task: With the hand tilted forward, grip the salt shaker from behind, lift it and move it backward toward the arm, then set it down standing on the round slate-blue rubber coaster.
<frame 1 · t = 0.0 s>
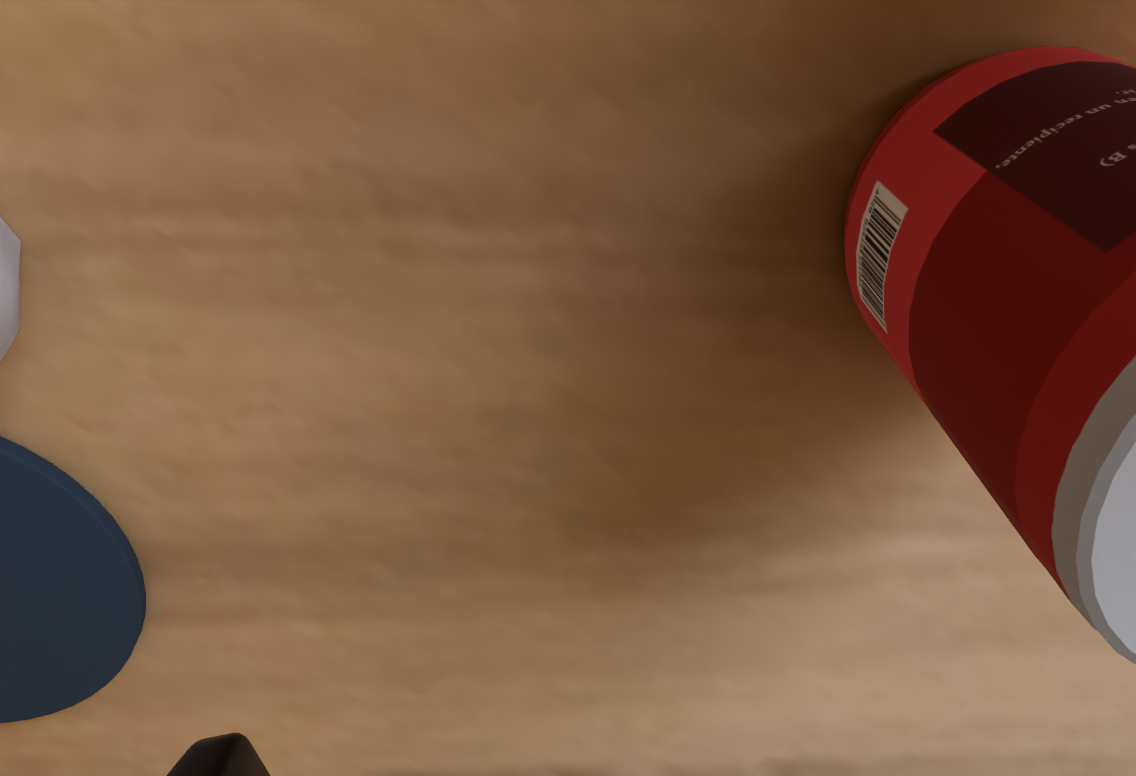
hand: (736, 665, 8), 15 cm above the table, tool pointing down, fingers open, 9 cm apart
canned food: (988, 208, 22), on the table
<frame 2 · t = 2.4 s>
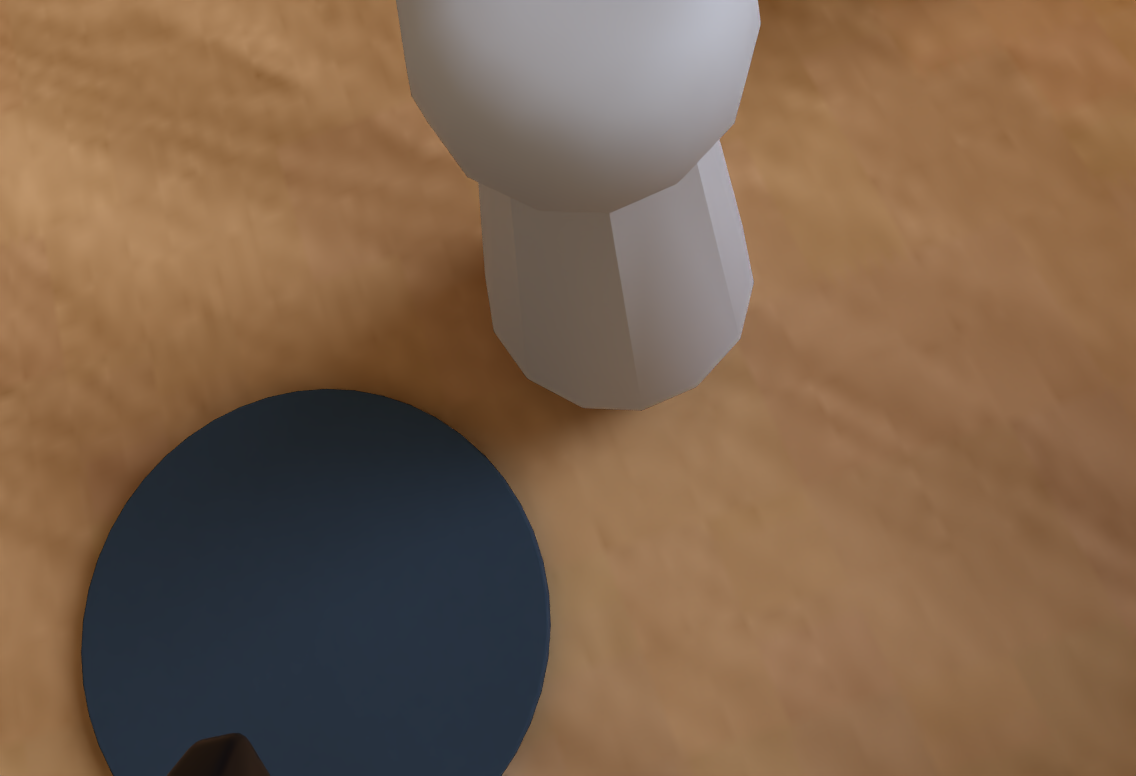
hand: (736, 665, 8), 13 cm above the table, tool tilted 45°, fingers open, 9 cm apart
coaster: (317, 622, 22), on the table
salt shaker: (622, 315, 23), on the table
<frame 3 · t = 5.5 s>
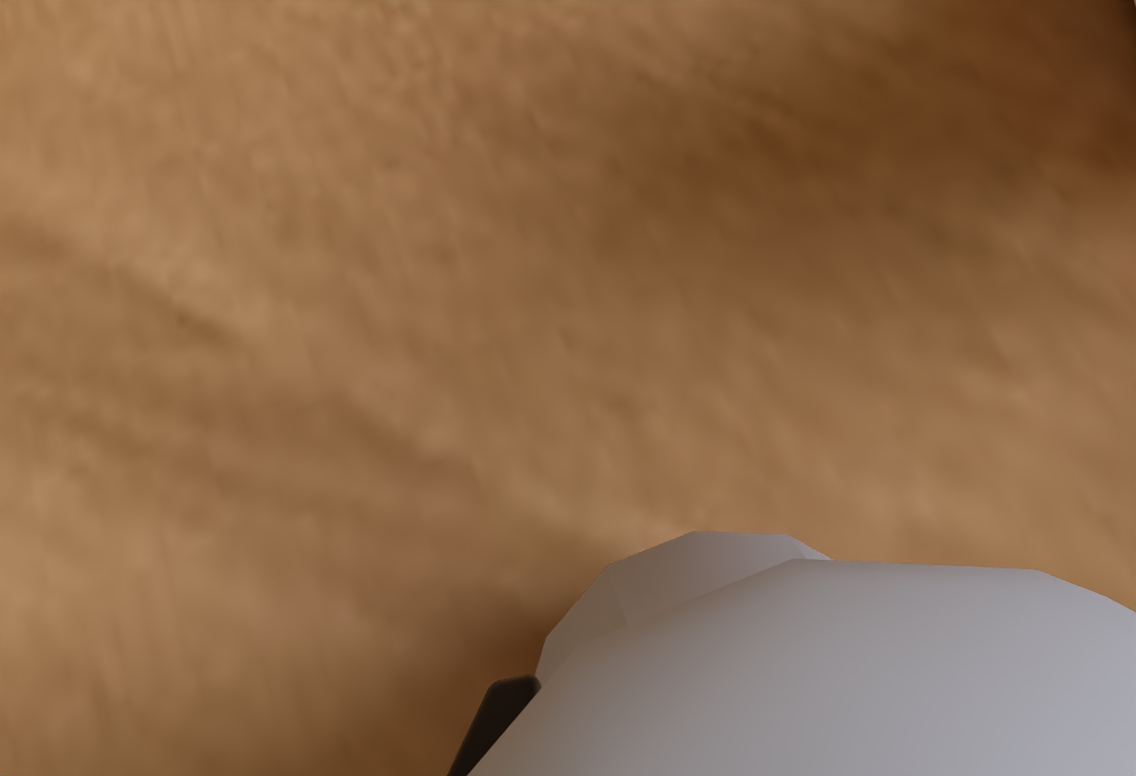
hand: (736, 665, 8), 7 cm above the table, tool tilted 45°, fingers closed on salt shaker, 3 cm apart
salt shaker: (722, 723, 15), on the table, touching gripper
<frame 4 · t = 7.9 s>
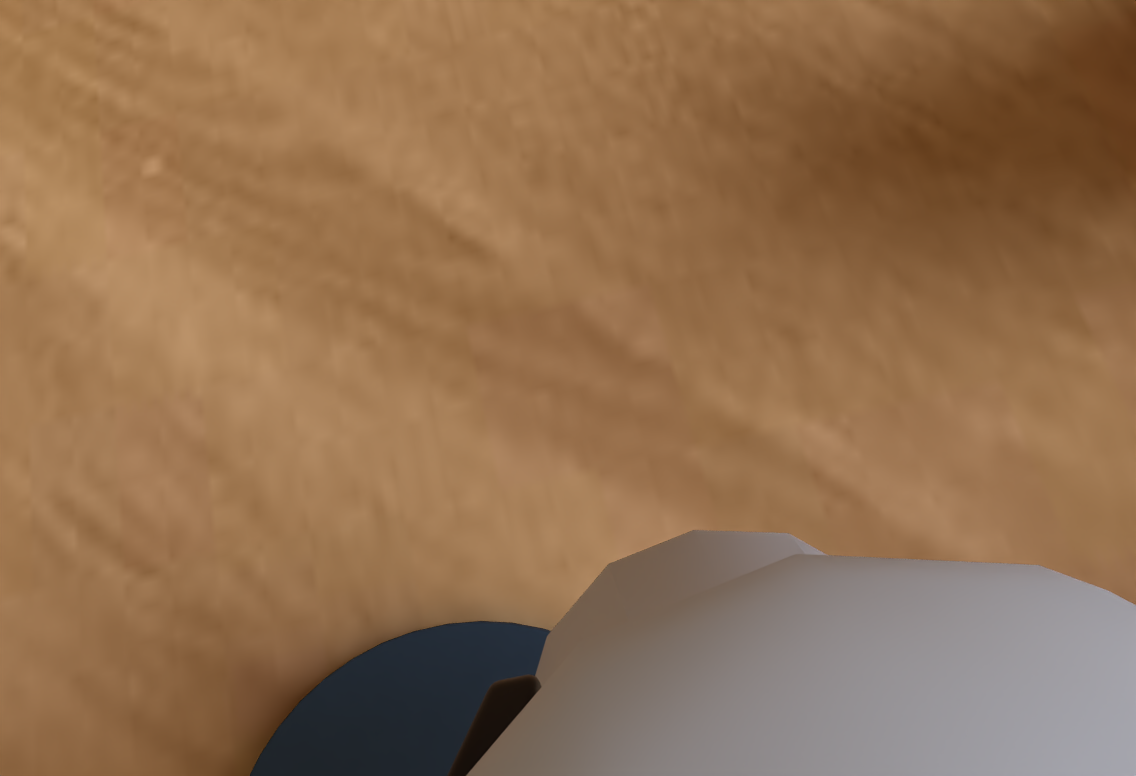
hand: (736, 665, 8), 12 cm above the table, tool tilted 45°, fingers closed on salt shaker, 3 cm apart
salt shaker: (723, 722, 15), point 5 cm above the table, touching gripper
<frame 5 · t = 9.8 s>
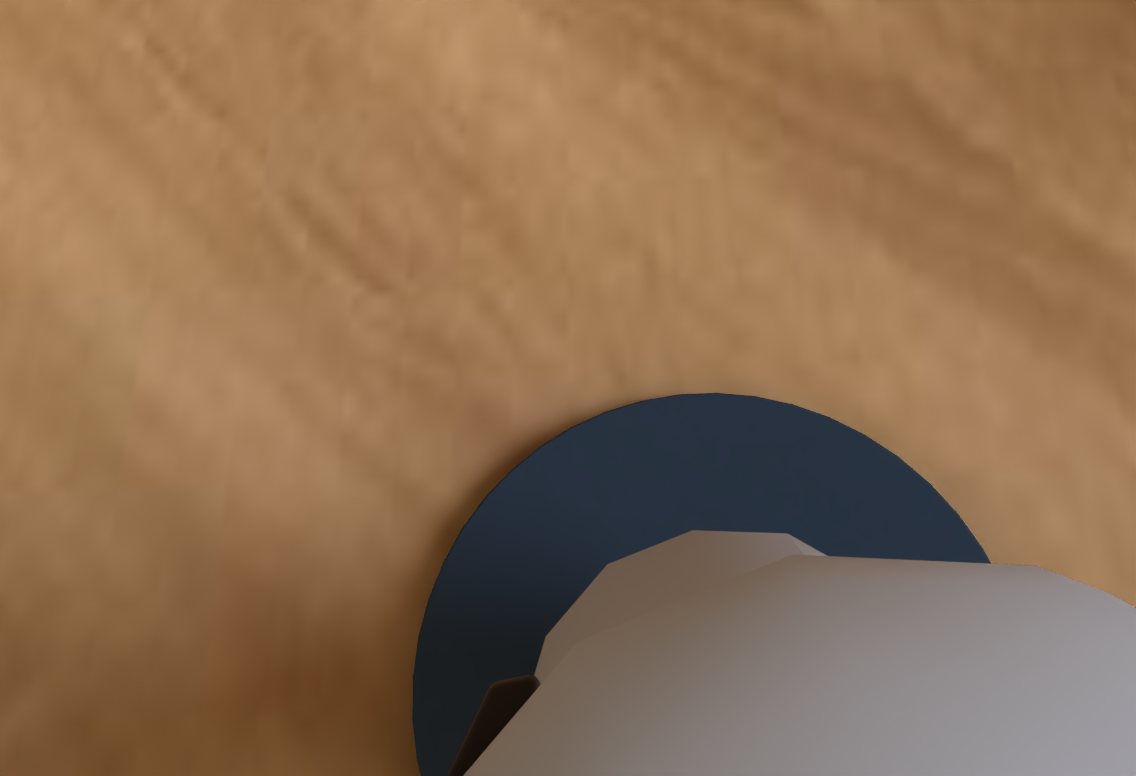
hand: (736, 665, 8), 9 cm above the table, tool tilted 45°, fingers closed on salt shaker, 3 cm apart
coaster: (711, 691, 17), on the table
salt shaker: (722, 722, 15), point 2 cm above the table, touching gripper
when the fingers open (8 cm above the table, at t = 10.7 s): salt shaker stays where it is, resting on coaster.
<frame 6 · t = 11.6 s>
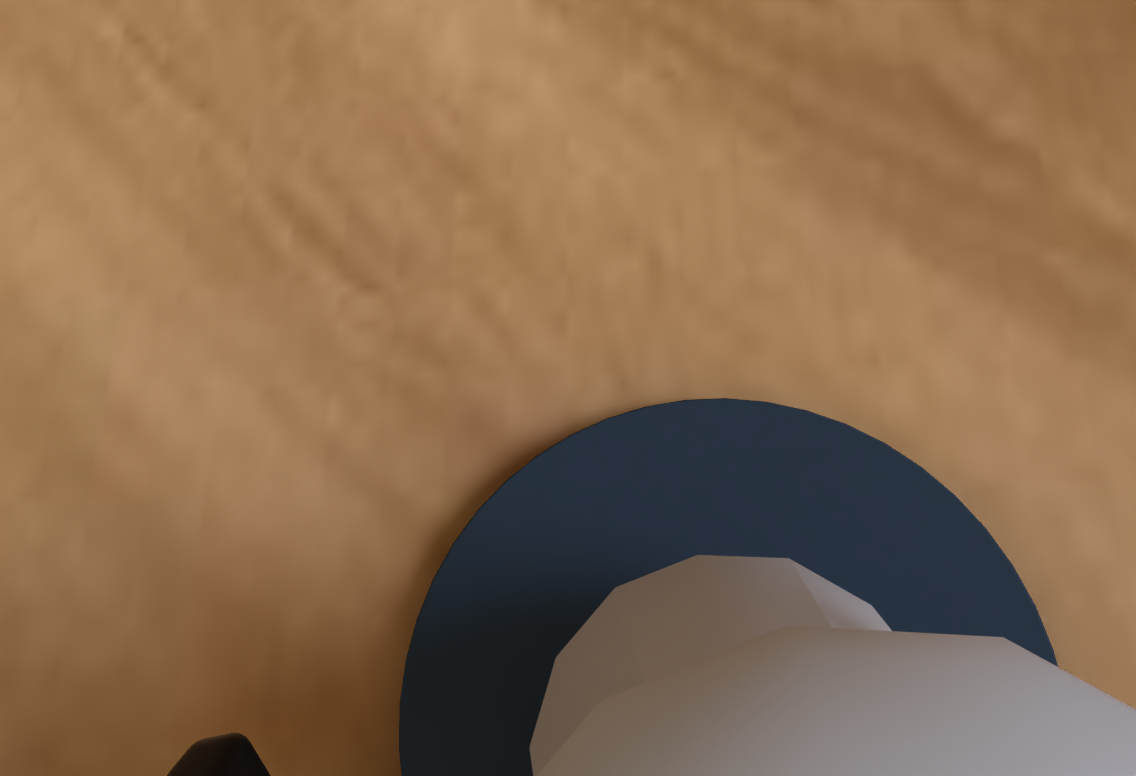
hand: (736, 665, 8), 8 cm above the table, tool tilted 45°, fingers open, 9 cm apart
coaster: (721, 719, 16), on the table
salt shaker: (725, 738, 16), resting on coaster
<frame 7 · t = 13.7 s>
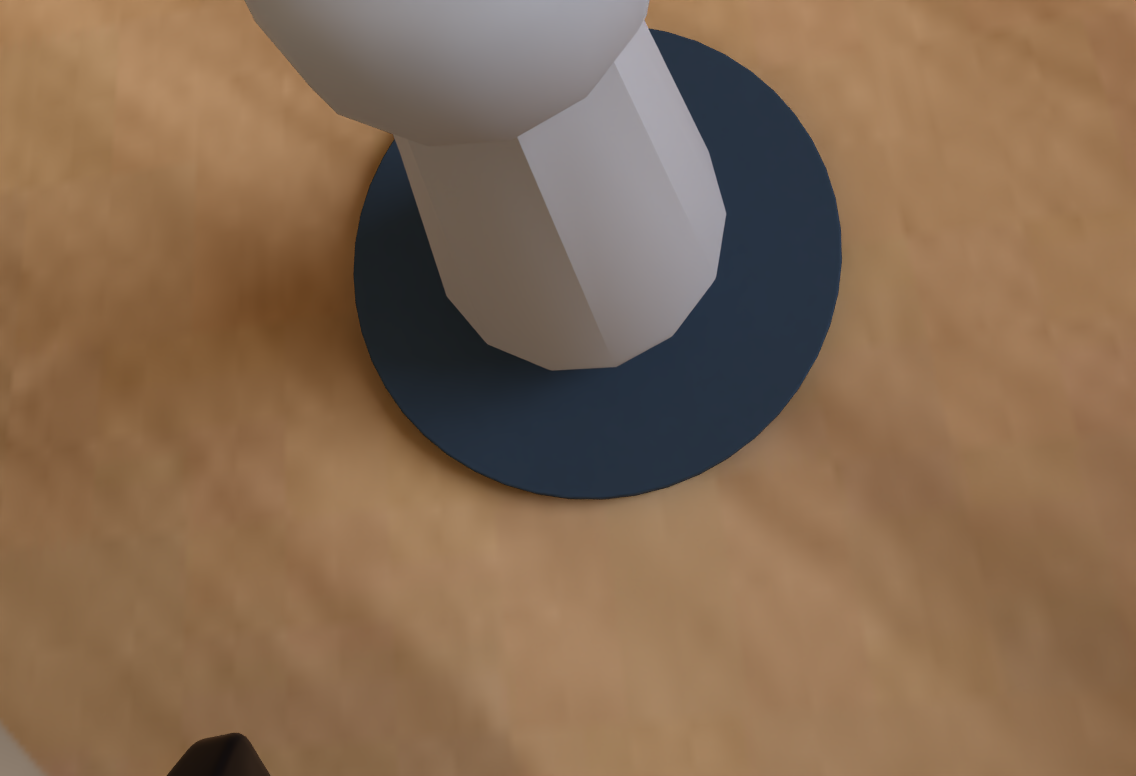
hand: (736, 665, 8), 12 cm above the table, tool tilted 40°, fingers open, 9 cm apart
coaster: (590, 257, 21), on the table
salt shaker: (592, 264, 21), resting on coaster
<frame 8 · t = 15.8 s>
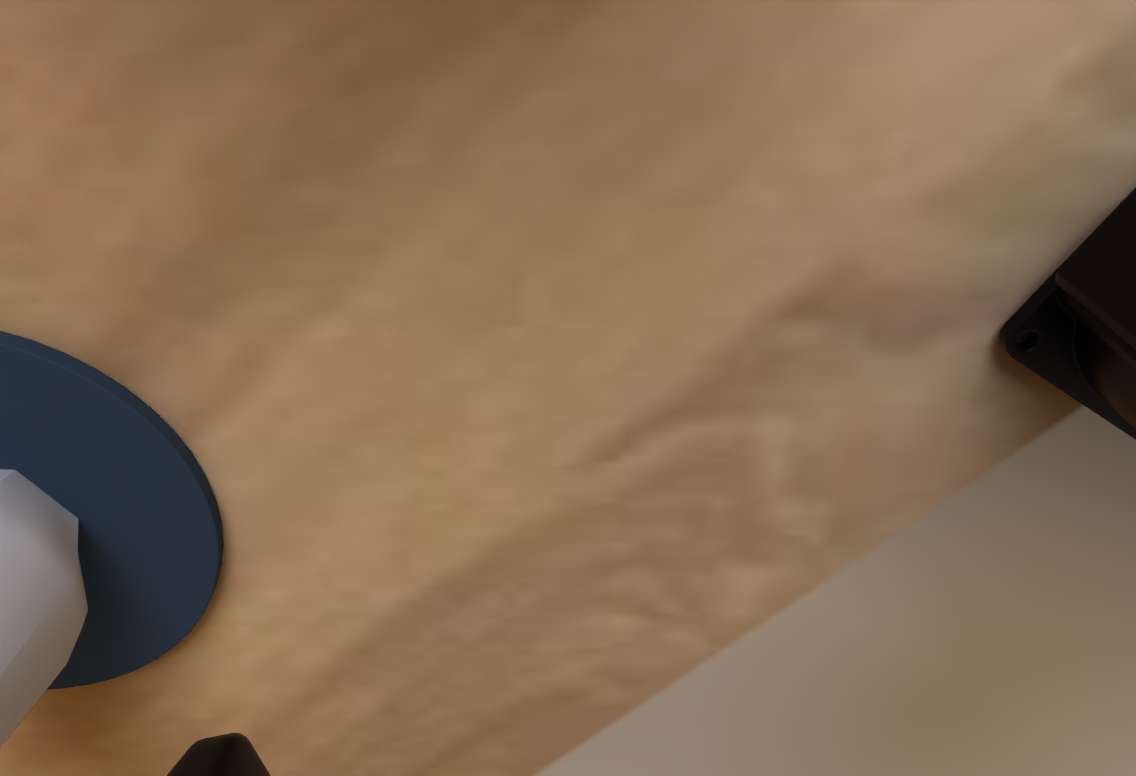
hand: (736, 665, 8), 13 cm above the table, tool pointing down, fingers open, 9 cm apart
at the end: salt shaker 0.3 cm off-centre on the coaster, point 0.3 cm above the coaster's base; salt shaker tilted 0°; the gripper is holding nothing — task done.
